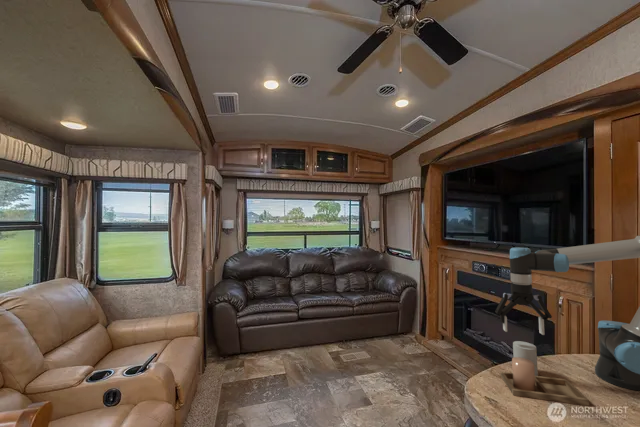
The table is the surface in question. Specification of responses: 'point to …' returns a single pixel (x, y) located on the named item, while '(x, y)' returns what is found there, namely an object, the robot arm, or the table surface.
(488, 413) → the table surface
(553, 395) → the caddy
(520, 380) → the tan rounded cylinder
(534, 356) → the grey cylinder
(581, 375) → the table surface
